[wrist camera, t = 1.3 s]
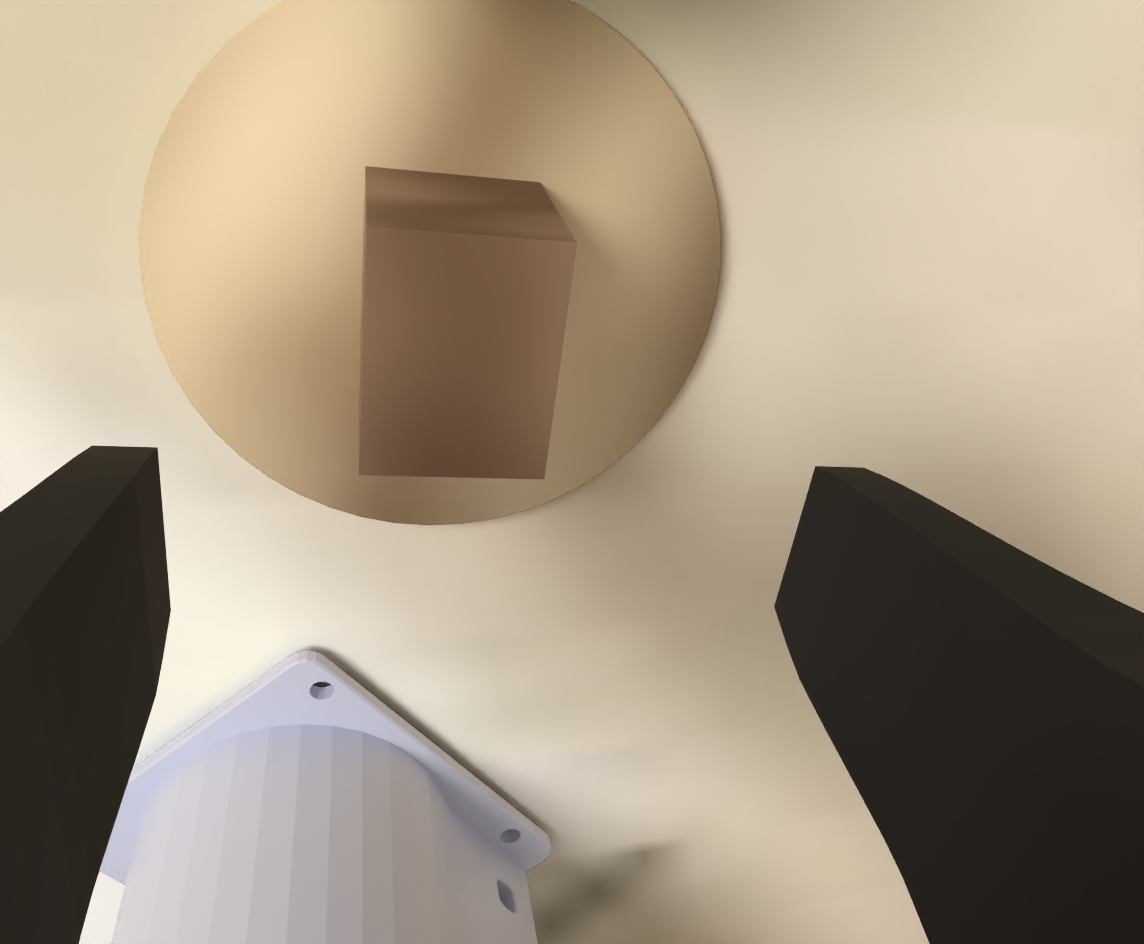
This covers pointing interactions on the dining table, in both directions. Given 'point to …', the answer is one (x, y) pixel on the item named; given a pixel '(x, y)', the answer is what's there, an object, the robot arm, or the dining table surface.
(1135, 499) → the dining table surface
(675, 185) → the oak lid
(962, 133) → the dining table surface
